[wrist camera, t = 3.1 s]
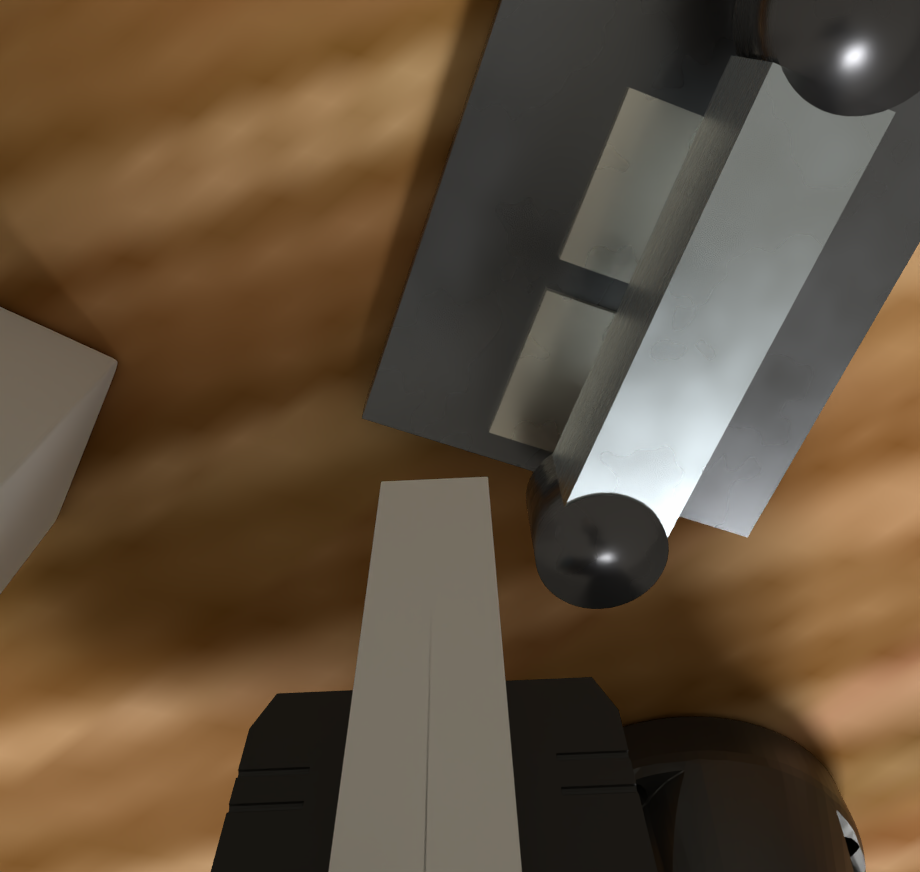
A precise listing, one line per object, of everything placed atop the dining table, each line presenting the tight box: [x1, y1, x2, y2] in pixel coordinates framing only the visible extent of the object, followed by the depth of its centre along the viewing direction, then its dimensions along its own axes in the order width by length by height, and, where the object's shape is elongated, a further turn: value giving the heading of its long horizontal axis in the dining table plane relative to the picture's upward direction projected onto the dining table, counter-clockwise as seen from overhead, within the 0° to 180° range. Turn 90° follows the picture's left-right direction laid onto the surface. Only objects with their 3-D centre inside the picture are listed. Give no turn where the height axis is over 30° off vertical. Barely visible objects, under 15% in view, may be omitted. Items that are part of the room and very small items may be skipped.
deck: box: [362, 0, 920, 537], centre depth 26 cm, size 16×14×4 cm
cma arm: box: [526, 0, 920, 609], centre depth 22 cm, size 18×4×3 cm, turn 160°
